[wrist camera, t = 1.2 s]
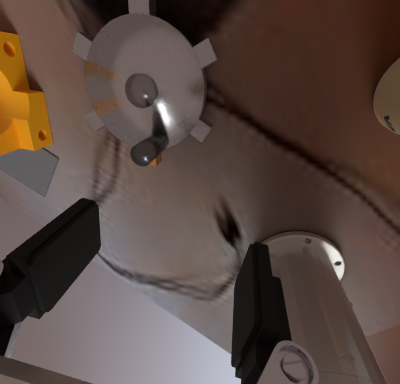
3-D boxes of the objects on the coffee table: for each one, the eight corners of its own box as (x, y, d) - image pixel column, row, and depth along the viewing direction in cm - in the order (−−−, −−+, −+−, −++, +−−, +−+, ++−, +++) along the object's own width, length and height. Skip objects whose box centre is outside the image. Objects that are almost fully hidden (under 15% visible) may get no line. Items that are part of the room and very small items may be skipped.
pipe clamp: (53, 143, 30) (11, 159, 24) (23, 138, 30) (-26, 152, 25) (33, 36, 24) (-29, 25, 19) (-4, 31, 24) (-76, 18, 19)
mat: (58, 158, 31) (58, 158, 31) (45, 196, 35) (44, 197, 35) (-24, 104, 29) (-25, 104, 29) (-29, 150, 33) (-30, 150, 33)
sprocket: (251, 74, 21) (254, 75, 15) (174, 178, 28) (155, 208, 22) (115, -41, 19) (54, -95, 13) (67, 102, 26) (12, 111, 20)
